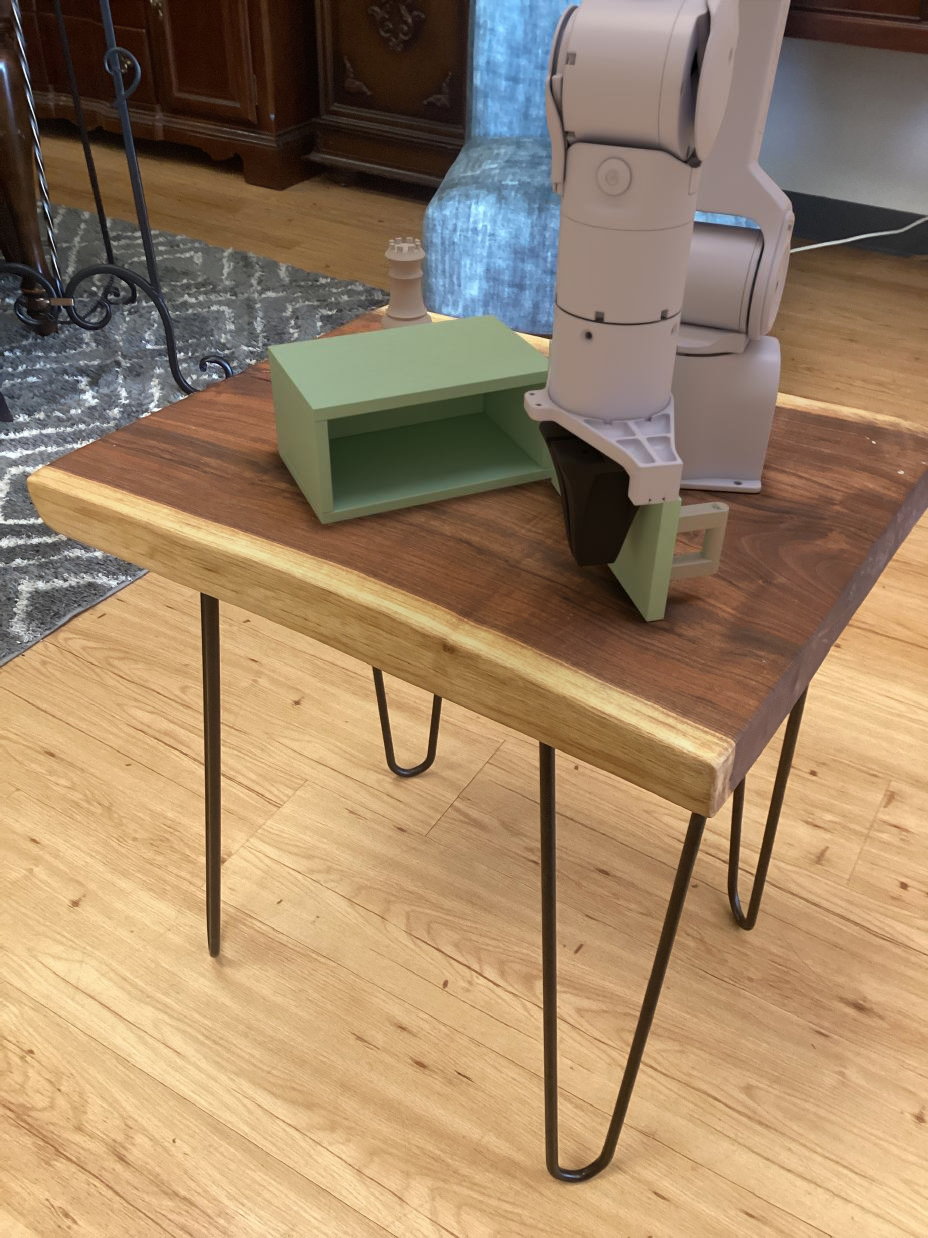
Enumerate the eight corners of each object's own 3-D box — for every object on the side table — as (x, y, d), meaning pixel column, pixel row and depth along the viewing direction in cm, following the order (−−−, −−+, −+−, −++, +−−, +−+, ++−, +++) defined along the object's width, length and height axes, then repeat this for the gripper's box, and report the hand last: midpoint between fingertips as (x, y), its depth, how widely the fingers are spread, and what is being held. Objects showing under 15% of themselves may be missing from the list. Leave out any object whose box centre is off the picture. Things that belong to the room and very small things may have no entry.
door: (616, 474, 68) (627, 368, 64) (724, 610, 56) (747, 490, 52) (551, 482, 67) (558, 375, 63) (646, 622, 55) (663, 501, 51)
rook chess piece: (370, 343, 86) (365, 244, 81) (397, 326, 89) (395, 230, 85) (417, 353, 84) (415, 253, 80) (443, 335, 88) (443, 238, 83)
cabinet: (552, 478, 68) (560, 367, 63) (322, 525, 63) (312, 409, 58) (489, 416, 75) (492, 313, 71) (278, 454, 70) (267, 345, 66)
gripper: (495, 257, 52) (488, 495, 60) (577, 371, 40) (555, 648, 48) (630, 250, 53) (606, 485, 61) (747, 359, 42) (698, 631, 50)
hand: (592, 556), depth 55 cm, fingers closed
